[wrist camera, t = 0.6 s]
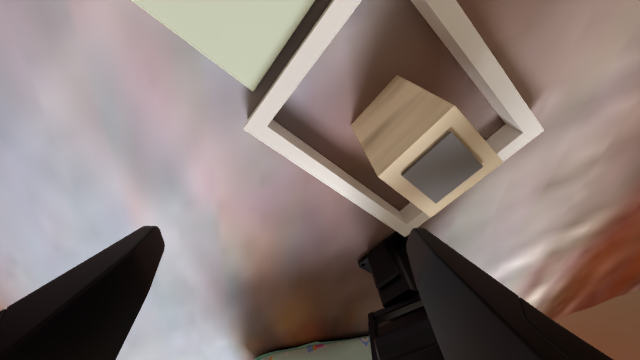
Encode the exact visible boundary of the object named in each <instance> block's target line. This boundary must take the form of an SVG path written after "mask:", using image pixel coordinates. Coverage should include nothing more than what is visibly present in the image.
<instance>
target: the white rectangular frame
mask: <svg viewBox="0 0 640 360" xmlns="http://www.w3.org/2000/svg"><path fill="white" fill-rule="evenodd" d="M361 1H362V0H332V1H331V2H330V3H329V5H328V6H327V8H326V9H325V10H324V12H323V13H322V15H321V16H320V18H319V19H318V20H317V22H316V23H315V25H314V26H313V27H312V29H311V30H310V32H309V33H308V35H307V36H306V37H305V39H304V40H303V42H302V43H301V45H300V46H299V47H298V49H297V50H296V52H295V53H294V54H293V56H292V57H291V59H290V60H289V62H288V63H287V64H286V66H285V67H284V69H283V70H282V72H281V73H280V74H279V76H278V77H277V79H276V80H275V81H274V83H273V84H272V86H271V87H270V89H269V90H268V91H267V93H266V94H265V96H264V97H263V98H262V100H261V101H260V103H259V104H258V106H257V107H256V108H255V110H254V111H253V113H252V114H251V116H250V117H249V118H248V120H247V122H246V124H245V126H244V128H243V129H244V130H245V131H247V132H248V133H250V134H251V135H253V136H254V137H256V138H257V139H259V140H260V141H262V142H263V143H265V144H266V145H268V146H269V147H271V148H272V149H274V150H275V151H277V152H278V153H280V154H281V155H283V156H284V157H286V158H287V159H289V160H290V161H292V162H293V163H295V164H296V165H298V166H299V167H301V168H302V169H304V170H305V171H307V172H308V173H310V174H311V175H313V176H314V177H316V178H317V179H319V180H320V181H322V182H323V183H325V184H326V185H328V186H329V187H331V188H332V189H334V190H335V191H337V192H338V193H340V194H341V195H343V196H344V197H346V198H347V199H349V200H350V201H352V202H353V203H355V204H356V205H358V206H359V207H361V208H362V209H364V210H365V211H367V212H368V213H370V214H371V215H373V216H374V217H376V218H377V219H379V220H380V221H382V222H383V223H385V224H386V225H388V226H389V227H391V228H392V229H394V230H395V231H397V232H398V233H400V234H401V235H403V236H404V237H406V236H407V235H408V234H410V232H411V230H412V229H413V228H417V227H419V226H420V225H421V224H423V223H424V222H425V221H427V220H428V219H429V218H430V217H429V216H428V215H427V214H426V213H424V212H423V211H422V210H420V209H419V208H418V207H416V206H415V205H414V204H413V203H411V202H410V203H409V204H408V205H407V206H405V207H404V208H403V209H402V210H400V211H398V210H397V209H396V208H394V207H393V206H391V205H390V204H389V203H387V202H386V201H385V200H383V199H382V198H380V197H379V196H378V195H376V194H375V193H373V192H372V191H371V190H369V189H368V188H367V187H365V186H364V185H362V184H361V183H360V182H358V181H357V180H355V179H354V178H353V177H351V176H350V175H349V174H347V173H346V172H344V171H343V170H342V169H340V168H339V167H338V166H336V165H335V164H333V163H332V162H331V161H329V160H328V159H326V158H325V157H324V156H322V155H321V154H320V153H318V152H317V151H315V150H314V149H313V148H311V147H310V146H308V145H307V144H306V143H304V142H303V141H302V140H300V139H299V138H297V137H296V136H295V135H293V134H292V133H291V132H289V131H288V130H286V129H285V128H284V127H282V126H281V125H279V124H278V123H277V122H275V121H274V120H273V118H274V116H275V115H276V114H277V112H278V111H279V110H280V108H281V107H282V106H283V104H284V103H285V102H286V100H287V99H288V98H289V96H290V95H291V94H292V92H293V91H294V90H295V89H296V87H297V86H298V85H299V83H300V82H301V81H302V79H303V78H304V77H305V75H306V74H307V73H308V71H309V70H310V69H311V67H312V66H313V65H314V63H315V62H316V61H317V59H318V58H319V57H320V55H321V54H322V53H323V51H324V50H325V49H326V47H327V46H328V45H329V43H330V42H331V41H332V39H333V38H334V37H335V35H336V34H337V33H338V31H339V30H340V29H341V27H342V26H343V25H344V23H345V22H346V21H347V19H348V18H349V17H350V15H351V14H352V13H353V11H354V10H355V9H356V7H357V6H358V5H359V3H360V2H361ZM410 1H411V2H412V3H413V4H414V6H415V7H416V8H417V10H418V11H419V12H420V14H421V15H422V16H423V17H424V19H425V20H426V21H427V23H428V24H429V25H430V27H431V28H432V29H433V30H434V32H435V33H436V34H437V36H438V37H439V38H440V40H441V41H442V42H443V43H444V45H445V46H446V47H447V49H448V50H449V51H450V53H451V54H452V55H453V56H454V58H455V59H456V60H457V62H458V63H459V64H460V66H461V67H462V68H463V69H464V71H465V72H466V73H467V75H468V76H469V77H470V78H471V80H472V81H473V82H474V84H475V85H476V86H477V88H478V89H479V90H480V91H481V93H482V94H483V95H484V97H485V98H486V99H487V101H488V102H489V103H490V104H491V106H492V107H493V108H494V110H495V111H496V112H497V114H498V115H499V116H500V117H501V119H502V120H503V121H504V123H505V125H504V126H502V127H501V128H500V129H499V130H498V131H496V132H495V133H494V134H493V135H491V136H490V137H489V138H488V139H487V140H485V141H486V142H487V143H488V145H489V146H490V147H491V148H492V149H493V150H494V152H495V153H496V154H497V155H498V156H499V157H500V158H501V160H502V161H503V162H504V161H505V160H506V159H507V158H509V157H510V156H511V155H513V154H514V153H515V152H517V151H518V150H519V149H521V148H522V147H523V146H524V145H526V144H527V143H528V142H530V141H531V140H532V139H534V138H535V137H536V136H537V135H539V134H540V133H541V132H543V131H544V129H543V128H542V126H541V125H540V124H539V122H538V121H537V119H536V118H535V116H534V115H533V113H532V112H531V110H530V109H529V107H528V106H527V104H526V103H525V101H524V100H523V98H522V97H521V95H520V94H519V92H518V91H517V90H516V88H515V87H514V85H513V84H512V82H511V81H510V79H509V78H508V76H507V75H506V73H505V72H504V70H503V69H502V67H501V66H500V64H499V63H498V61H497V60H496V59H495V57H494V56H493V54H492V53H491V51H490V50H489V48H488V47H487V45H486V44H485V42H484V41H483V39H482V38H481V36H480V35H479V33H478V32H477V30H476V29H475V27H474V26H473V25H472V23H471V22H470V20H469V19H468V17H467V16H466V14H465V13H464V11H463V10H462V8H461V7H460V5H459V4H458V2H457V1H456V0H410Z"/></svg>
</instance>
